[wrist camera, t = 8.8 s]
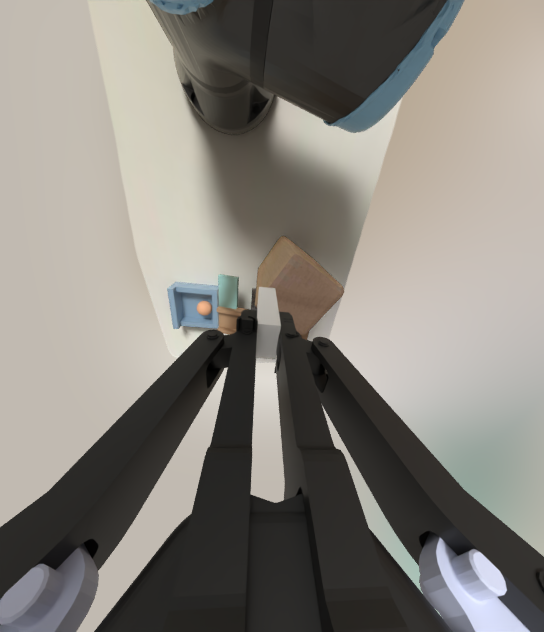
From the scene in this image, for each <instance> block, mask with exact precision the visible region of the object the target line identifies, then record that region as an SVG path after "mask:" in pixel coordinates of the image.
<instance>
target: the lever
mask: <svg viewBox="0 0 544 632" xmlns="http://www.w3.org/2000/svg"><path fill="white" fill-rule="evenodd" d="M238 281H239V277H234V276H228V275H221V274H219V275H218V285H219V307H218V308H217V312H219V327H218V329H217V330H219V331H221V332H222V333H225V334H233V333H235V332H236V320H237V318H238V317H239V316H241V312H242V311H243V310H244V309H243V308H238ZM308 333H309V331H308V332H307V333H306V334H305V335H301V337H302V338H303V339H305V340H307V337H308Z"/></svg>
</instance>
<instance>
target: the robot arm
mask: <svg viewBox="0 0 544 632" xmlns="http://www.w3.org/2000/svg"><path fill="white" fill-rule="evenodd" d="M146 1H147V2H148V4H149V6H150V8H151V9H152V11H153V13H154V15H155V16H156V18H157V20H158V22H159V23H160V25H161V27H162V29H163V30H164V32H165V34H166V36H167V38H168V39H169V41H170V43H171V45H172V46H173V53H174V60H175V65H176V69H177V73H178V76H179V79H180V82H181V84H182V87H183V89H184V91H185V93H186V95H187V97H188V99H189V101H190V102H191V104H192V105H193V107H194V108H195V110H196V111H197V113H198V114H199V115H200V117H201V118H202V119H203V120H204V121H205V122H206V123H207V124H209V125H210V126H211V127H213V128H214V129H216V130H218V131H220V132H223V133H226V134H242V133H245V132H248V131H250V130H251V129H253V128H254V127H256V126H257V125H258V124H259V123H260V122H261V121H262V120H263V118H264V117H265V115H266V114H267V112H268V110H269V108H270V106H271V104H272V101H273V98H274V95H276V96H278V97H280V98H282V99H284V100H286V101H288V102H290V103H292V104H294V105H296V106H298V107H300V108H301V109H303V110H305V111H307V112H309V113H311V114H313V115H315V116H317V117H319V118H321V119H323V121H324V123H325V124H327V125H328V126H337V127H339V128H341V129H344V130H346V131H348V132H351V133H356V132H361V131H365V130H367V129H369V128H370V127H372V126H373V125H375V124H376V123H377V122H379V121H380V120H381V119H382V118H383V117H384V116H385V115H386V114H387V113H388V112H389V111H390V110H391V109H392V108H393V107H394V106H395V105H396V104H397V102H398V101H399V100H400V99H401V98H402V97H403V95H404V94H405V93H406V92H407V90H408V89H409V88H410V87H411V86H412V84H413V83H414V82H415V80H416V79H417V78H418V76H419V75H420V73H421V72H422V71H423V69H424V68H425V66H426V65H427V63H428V62H429V60H430V59H431V57H432V55H433V54H434V47H435V46H436V45H437V44H438V42H439V41H440V40H441V39H442V38H443V37H444V35H445V34H446V33H447V32H448V30H449V28H450V27H451V25H452V23H453V21H454V20H455V18H456V16H457V14H458V12H459V11H460V9H461V6H462V4H463V2H464V0H146ZM276 356H277V360H276V367H275V373H276V374H277V385H278V386H277V387H278V400H279V413H280V426H281V438H282V451H283V464H284V477H285V492H284V501H281V502H278V503H273V502H270V501H267V500H265V499H261V498H259V497H256V496H253V495H250V491H251V467H252V428H253V407H254V387H255V386H254V385H255V384H254V383H255V365H256V358H263V359H276ZM226 367H228V370H227V375H226V379H225V383H224V388H223V392H222V397H221V401H220V406H219V410H218V415H217V419H216V424H215V428H214V433H213V437H212V442H211V445H210V447H209V448H208V449H207V452H206V455H205V459H204V463H203V467H202V472H201V476H200V480H199V484H198V489H197V493H196V497H195V501H194V506H193V510H192V514H191V515H189V516H188V517H187V518H186V519H185V520H183V521H182V522H181V524H180V525H179V526H178V527H177V528H176V529H175V530H174V531H173V532H172V534H171V535H170V536H169V537H168V538H167V540H166V541H165V542H164V544H163V545H162V546H161V547H160V548H159V550H158V551H157V552H156V554H155V555H154V556H153V557H152V559H151V560H150V561H149V563H148V564H147V565H146V566H145V568H144V569H143V570H142V571H141V573H140V574H139V575H138V577H137V578H136V579H135V580H134V582H133V583H132V584H131V585H130V587H129V588H128V589H127V591H126V592H125V593H124V594H123V596H122V597H121V598H120V599H119V601H118V602H117V603H116V605H115V606H114V607H113V608H112V610H111V611H110V612H109V613H108V615H107V616H106V617H105V619H104V620H103V621H102V623H101V624H100V625H99V626H98V627H97V629H96V630H95V631H94V632H544V557H543V556H542V555H541V554H540V553H538V552H537V551H536V550H535V549H534V548H533V547H531V546H530V545H529V544H528V543H527V542H526V541H524V540H523V539H522V538H521V537H520V536H518V535H517V534H516V533H515V532H514V531H512V530H511V529H510V528H509V527H507V525H505V524H504V523H503V522H502V521H501V520H499V519H498V518H497V517H496V516H495V515H493V514H492V513H491V512H490V511H488V510H487V509H486V508H485V507H484V506H483V505H482V504H480V503H479V502H478V501H477V500H476V499H474V498H473V497H472V496H471V495H469V494H468V493H467V492H466V491H465V490H464V489H463V488H462V487H461V486H460V485H459V483H457V482H456V480H455V479H454V478H453V477H452V476H451V475H450V473H449V472H448V471H447V470H446V469H445V468H444V467H443V466H442V465H441V463H440V462H439V461H438V460H437V459H436V458H435V457H434V455H433V454H431V452H430V451H429V450H428V449H427V448H426V447H425V445H424V444H423V443H422V442H421V441H420V440H419V439H418V438H417V436H416V435H415V434H414V433H413V432H412V431H411V430H410V429H409V428H408V426H407V425H406V424H405V423H404V422H403V421H402V420H401V418H400V417H399V416H398V415H397V414H396V413H395V412H394V411H393V410H392V408H391V407H390V406H389V405H388V404H387V403H386V402H385V401H384V400H383V398H382V397H381V396H380V395H379V394H378V393H377V392H376V391H375V390H374V388H373V387H372V386H371V385H370V384H369V383H368V382H367V380H366V379H365V378H364V377H363V376H362V375H361V374H360V373H359V371H358V370H357V369H356V368H355V367H354V366H353V365H352V364H351V362H350V361H349V360H348V359H347V358H346V357H345V356H344V355H343V353H341V351H340V350H339V349H338V348H337V347H336V346H335V344H334V343H333V342H332V341H330V340H329V339H327V338H324V337H316V338H314V339H313V342H312V341H308V340H305V339H303V338H302V337H301V335H300V333H299V332H297V331H296V328H295V324H294V321H293V317H292V315H291V314H290V313H289V312H279V310H278V303H277V297H276V290H275V288H267V287H259V292H258V304H257V310H249V309H244V310H243V311H242V312H241V316H239V317H238V318H237V320H236V332H235V333H233V334H230V335H224V334H223V333H222V332H221V331H219V330H208V331H205V332H203V333H202V334H201V335H200V336H199V337H198V338H197V339H196V340H195V341H194V342H193V343H192V344H191V345H190V346H189V347H188V348H187V349H186V350H185V352H184V353H183V354H182V355H181V356H180V357H179V358H178V359H177V360H176V361H175V362H174V363H173V364H172V365H171V366H170V367H169V368H168V369H167V370H166V371H165V372H164V373H163V374H162V375H161V376H160V377H159V378H158V379H157V380H156V381H155V382H154V383H153V384H152V385H151V386H150V388H148V389H147V391H146V392H145V393H144V394H143V395H142V396H141V397H140V398H139V399H138V400H137V401H136V402H135V403H134V404H133V405H132V406H131V407H130V408H129V409H128V410H127V411H126V412H125V413H124V414H123V415H122V416H121V417H120V418H119V419H118V420H117V421H116V422H115V423H114V424H113V425H112V426H111V427H110V429H109V430H108V431H107V432H106V433H105V434H104V435H103V436H102V437H101V438H100V439H99V440H98V441H97V442H96V443H95V444H94V445H93V446H92V447H91V448H90V449H89V450H88V451H87V452H86V453H85V454H84V455H83V456H82V457H81V458H80V459H79V460H78V462H77V463H75V464H74V465H73V466H72V468H71V469H70V470H69V471H68V472H67V473H66V474H65V475H64V476H63V477H62V478H61V479H60V480H59V481H58V482H57V483H56V484H55V485H54V486H53V487H52V488H51V489H50V490H49V491H48V492H47V493H45V494H44V495H43V496H42V497H40V498H39V499H37V500H36V501H35V502H33V503H32V504H31V505H29V506H28V507H27V508H25V509H24V510H23V511H22V512H20V513H19V514H17V515H16V516H15V517H14V518H12V519H11V520H9V521H8V522H7V523H5V524H4V525H3V526H1V527H0V632H76V631H77V629H78V628H79V626H80V624H81V623H82V621H83V620H84V618H85V617H86V615H87V613H88V611H89V609H90V607H91V605H92V603H93V600H94V598H95V594H96V591H97V587H98V577H99V575H98V570H99V569H100V568H101V567H102V565H103V564H104V563H105V561H106V560H107V559H108V557H109V556H110V554H111V553H112V552H113V551H114V549H115V548H116V546H117V545H118V544H119V542H120V541H121V540H122V538H123V537H124V535H125V533H126V532H127V530H128V529H129V527H130V526H131V524H132V523H133V521H134V519H135V518H136V516H137V515H138V513H139V511H140V510H141V508H142V506H143V504H144V502H145V501H146V500H147V498H148V496H149V494H150V493H151V491H152V489H153V488H154V486H155V484H156V483H157V481H158V479H159V478H160V476H161V474H162V473H163V471H164V469H165V468H166V466H167V464H168V463H169V461H170V459H171V458H172V456H173V454H174V453H175V451H176V449H177V448H178V446H179V444H180V443H181V441H182V439H183V437H184V436H185V434H186V432H187V431H188V429H189V427H190V426H191V424H192V422H193V421H194V419H195V417H196V416H197V414H198V412H199V411H200V409H201V407H202V405H203V404H204V402H205V401H206V399H207V397H208V396H209V394H210V392H211V391H212V389H213V387H214V385H215V384H216V382H217V381H218V379H219V377H220V376H221V374H222V372H223V370H224V368H226ZM326 370H327V371H326ZM322 405H323V407H324V409H325V411H326V412H327V414H328V416H329V418H330V420H331V421H332V423H333V425H334V427H335V428H336V430H337V432H338V434H339V436H340V437H341V439H342V441H343V443H344V444H345V446H346V448H347V450H348V452H349V453H350V455H351V457H352V458H353V460H354V462H355V464H356V466H357V467H358V469H359V471H360V473H361V475H362V476H363V478H364V480H365V482H366V484H367V485H368V487H369V489H370V491H371V492H372V494H373V496H374V498H375V500H376V501H377V503H378V505H379V507H380V508H381V510H382V512H383V514H384V515H385V517H386V519H387V520H388V522H389V524H390V525H391V527H392V528H393V530H394V532H395V533H396V535H397V536H398V538H399V539H400V541H401V542H402V544H403V545H404V547H405V548H406V549H407V551H408V552H409V554H410V555H411V556H412V558H413V559H414V560H415V562H416V563H417V564H418V565H419V571H420V580H419V583H420V587H421V590H422V592H423V594H424V595H423V594H422V593H421V592H420V590H419V589H418V588H417V587H416V585H415V584H414V583H413V582H412V580H411V579H410V578H409V577H408V576H407V574H406V573H405V572H404V571H403V569H402V568H401V567H400V566H399V564H398V563H397V562H396V561H395V560H394V558H393V557H392V556H391V555H390V553H389V552H388V551H387V550H386V548H385V547H384V546H383V545H382V544H381V542H380V541H379V540H378V539H377V537H376V536H375V535H374V534H373V533H372V531H371V530H370V529H369V528H368V525H367V522H366V519H365V515H364V513H363V509H362V506H361V503H360V500H359V497H358V494H357V491H356V488H355V485H354V482H353V479H352V476H351V473H350V470H349V467H348V464H347V462H346V459H345V456H344V454H343V453H342V452H341V450H339V449H336V448H335V447H334V444H333V441H332V438H331V434H330V431H329V428H328V425H327V421H326V418H325V414H324V411H323V408H322ZM434 608H435V609H436V610H437V611H438V612H439V613H440V615H441V616H440V615H439V614H438V613H437V611H436V610H435V609H434ZM442 618H443V619H442Z"/></svg>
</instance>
